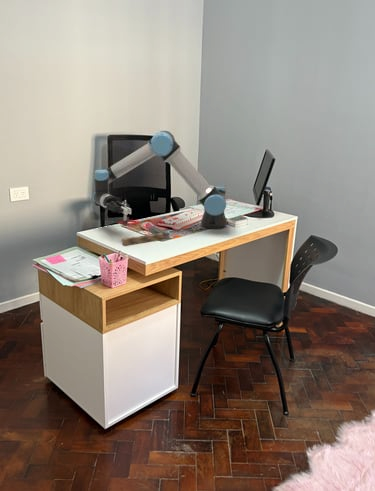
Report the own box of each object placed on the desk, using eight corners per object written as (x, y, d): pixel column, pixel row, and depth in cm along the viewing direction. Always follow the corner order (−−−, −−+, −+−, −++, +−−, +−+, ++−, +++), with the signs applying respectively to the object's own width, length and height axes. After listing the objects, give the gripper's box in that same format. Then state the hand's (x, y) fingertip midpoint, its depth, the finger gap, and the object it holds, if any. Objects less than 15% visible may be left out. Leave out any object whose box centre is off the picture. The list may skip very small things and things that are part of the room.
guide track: (154, 230, 243) (154, 225, 242) (169, 238, 230) (169, 233, 229) (110, 237, 229) (110, 231, 228) (124, 245, 216) (124, 240, 215)
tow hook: (129, 221, 229) (117, 224, 222) (129, 196, 226) (117, 199, 218) (142, 224, 225) (130, 227, 217) (142, 199, 221) (130, 201, 214)
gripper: (121, 207, 239) (141, 217, 220) (97, 210, 231) (115, 221, 213) (121, 194, 236) (141, 202, 218) (96, 196, 229) (115, 205, 210)
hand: (128, 211), depth 215 cm, fingers closed on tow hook
